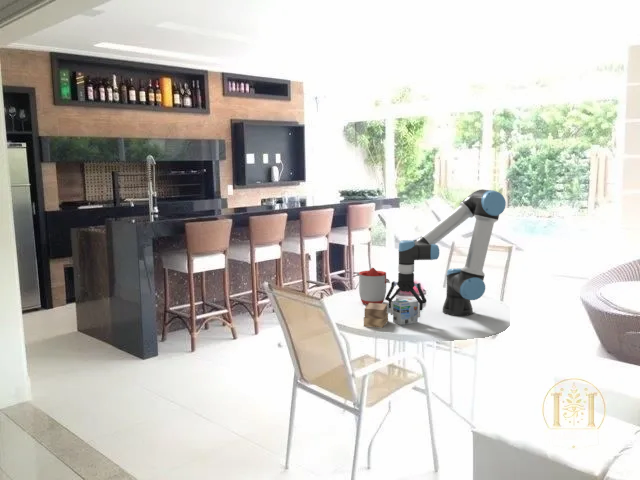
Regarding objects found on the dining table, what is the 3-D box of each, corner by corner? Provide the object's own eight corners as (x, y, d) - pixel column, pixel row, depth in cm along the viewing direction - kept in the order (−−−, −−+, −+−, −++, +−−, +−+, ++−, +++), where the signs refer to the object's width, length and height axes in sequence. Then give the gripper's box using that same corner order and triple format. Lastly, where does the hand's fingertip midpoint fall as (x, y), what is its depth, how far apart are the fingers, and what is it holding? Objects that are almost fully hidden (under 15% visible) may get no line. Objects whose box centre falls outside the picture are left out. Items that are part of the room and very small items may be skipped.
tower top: (387, 312, 287) (387, 303, 287) (383, 319, 276) (383, 309, 275) (369, 311, 290) (369, 302, 289) (364, 317, 278) (364, 308, 278)
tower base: (387, 322, 287) (388, 313, 287) (382, 328, 276) (382, 319, 276) (370, 320, 290) (370, 311, 290) (363, 326, 279) (363, 317, 279)
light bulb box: (400, 325, 280) (400, 303, 279) (392, 322, 286) (392, 300, 285) (418, 322, 285) (418, 300, 284) (410, 319, 291) (410, 298, 290)
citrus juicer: (389, 307, 315) (389, 270, 313) (357, 305, 318) (357, 269, 316) (390, 300, 331) (390, 265, 328) (359, 299, 333) (359, 264, 331)
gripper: (433, 272, 282) (431, 315, 285) (383, 269, 290) (382, 311, 293) (430, 275, 275) (429, 319, 278) (379, 272, 283) (378, 315, 286)
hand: (405, 315), depth 285 cm, fingers open, 12 cm apart
